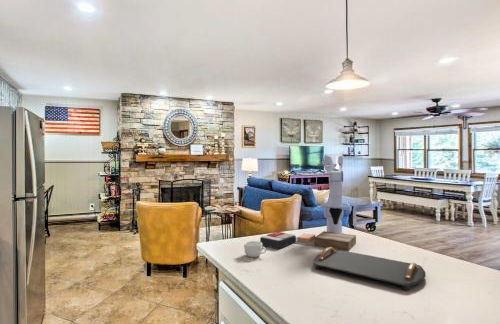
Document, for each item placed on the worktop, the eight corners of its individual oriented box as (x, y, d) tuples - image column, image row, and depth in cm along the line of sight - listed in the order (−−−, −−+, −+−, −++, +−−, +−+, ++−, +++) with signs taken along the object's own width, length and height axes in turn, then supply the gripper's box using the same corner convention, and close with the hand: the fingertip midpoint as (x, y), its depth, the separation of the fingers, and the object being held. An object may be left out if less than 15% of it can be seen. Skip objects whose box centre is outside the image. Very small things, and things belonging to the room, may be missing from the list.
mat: (301, 235, 173) (301, 234, 173) (323, 238, 166) (323, 237, 166) (289, 242, 159) (289, 241, 159) (312, 246, 153) (312, 245, 153)
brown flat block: (323, 239, 165) (323, 231, 165) (355, 243, 157) (355, 235, 157) (314, 245, 153) (314, 237, 153) (348, 250, 145) (348, 242, 145)
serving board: (430, 274, 118) (430, 257, 118) (417, 297, 100) (417, 277, 99) (330, 254, 142) (330, 240, 141) (305, 269, 123) (305, 253, 123)
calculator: (296, 234, 159) (279, 239, 147) (296, 243, 159) (278, 249, 147) (277, 230, 166) (259, 235, 154) (277, 239, 166) (259, 244, 154)
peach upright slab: (315, 234, 165) (315, 238, 165) (304, 233, 168) (304, 237, 168) (309, 238, 157) (309, 242, 157) (297, 237, 160) (297, 241, 160)
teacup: (240, 256, 137) (240, 244, 137) (249, 252, 144) (249, 240, 143) (261, 260, 132) (261, 247, 132) (270, 255, 138) (270, 243, 138)
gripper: (318, 195, 155) (318, 223, 155) (349, 197, 147) (348, 227, 148) (323, 194, 161) (323, 221, 161) (352, 196, 153) (352, 224, 154)
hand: (335, 224), depth 155 cm, fingers closed
